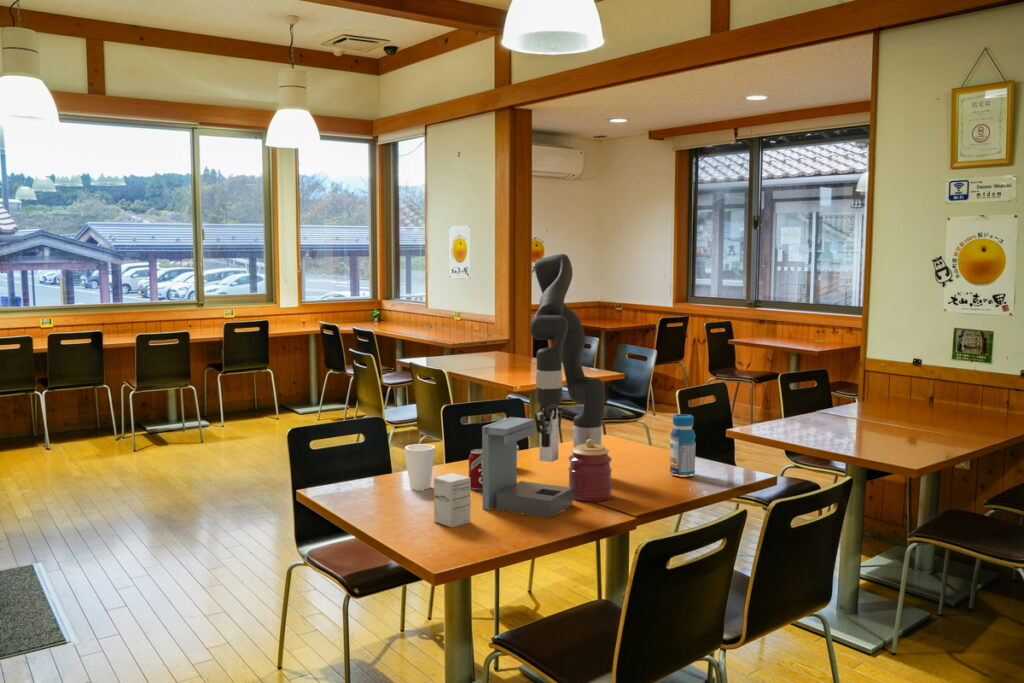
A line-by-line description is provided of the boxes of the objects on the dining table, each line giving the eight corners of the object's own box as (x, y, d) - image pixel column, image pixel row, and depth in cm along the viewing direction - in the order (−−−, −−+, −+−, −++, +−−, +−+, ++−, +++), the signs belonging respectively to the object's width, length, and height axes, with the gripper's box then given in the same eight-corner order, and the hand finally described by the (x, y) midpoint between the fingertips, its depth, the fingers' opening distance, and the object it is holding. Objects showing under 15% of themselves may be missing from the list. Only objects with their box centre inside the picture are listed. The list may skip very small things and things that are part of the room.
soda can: (464, 489, 261) (464, 452, 260) (475, 484, 267) (475, 447, 266) (483, 492, 258) (483, 454, 257) (494, 487, 264) (494, 449, 263)
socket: (521, 497, 253) (521, 480, 252) (572, 504, 245) (572, 487, 244) (496, 509, 240) (496, 492, 239) (549, 518, 231) (549, 500, 231)
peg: (545, 457, 241) (545, 416, 240) (558, 459, 239) (558, 417, 238) (539, 460, 238) (539, 418, 237) (552, 462, 236) (552, 420, 235)
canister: (618, 494, 255) (618, 437, 254) (600, 504, 244) (600, 445, 243) (579, 488, 262) (580, 433, 260) (560, 498, 251) (561, 440, 249)
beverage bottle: (690, 479, 273) (691, 418, 271) (665, 476, 277) (666, 416, 275) (698, 474, 280) (699, 414, 278) (674, 470, 284) (675, 412, 282)
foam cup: (433, 491, 259) (433, 450, 258) (403, 491, 259) (403, 450, 258) (436, 483, 268) (436, 443, 267) (407, 483, 268) (406, 443, 267)
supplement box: (433, 522, 228) (432, 476, 227) (454, 516, 234) (453, 472, 232) (450, 528, 223) (450, 481, 222) (471, 522, 228) (471, 476, 227)
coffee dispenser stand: (511, 494, 255) (510, 416, 253) (534, 498, 252) (534, 419, 249) (482, 508, 241) (482, 426, 238) (507, 512, 237) (506, 429, 235)
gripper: (548, 381, 245) (548, 439, 246) (525, 388, 232) (525, 448, 234) (571, 383, 241) (571, 442, 243) (549, 389, 229) (549, 451, 230)
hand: (548, 445), depth 238 cm, fingers closed on peg, 4 cm apart
